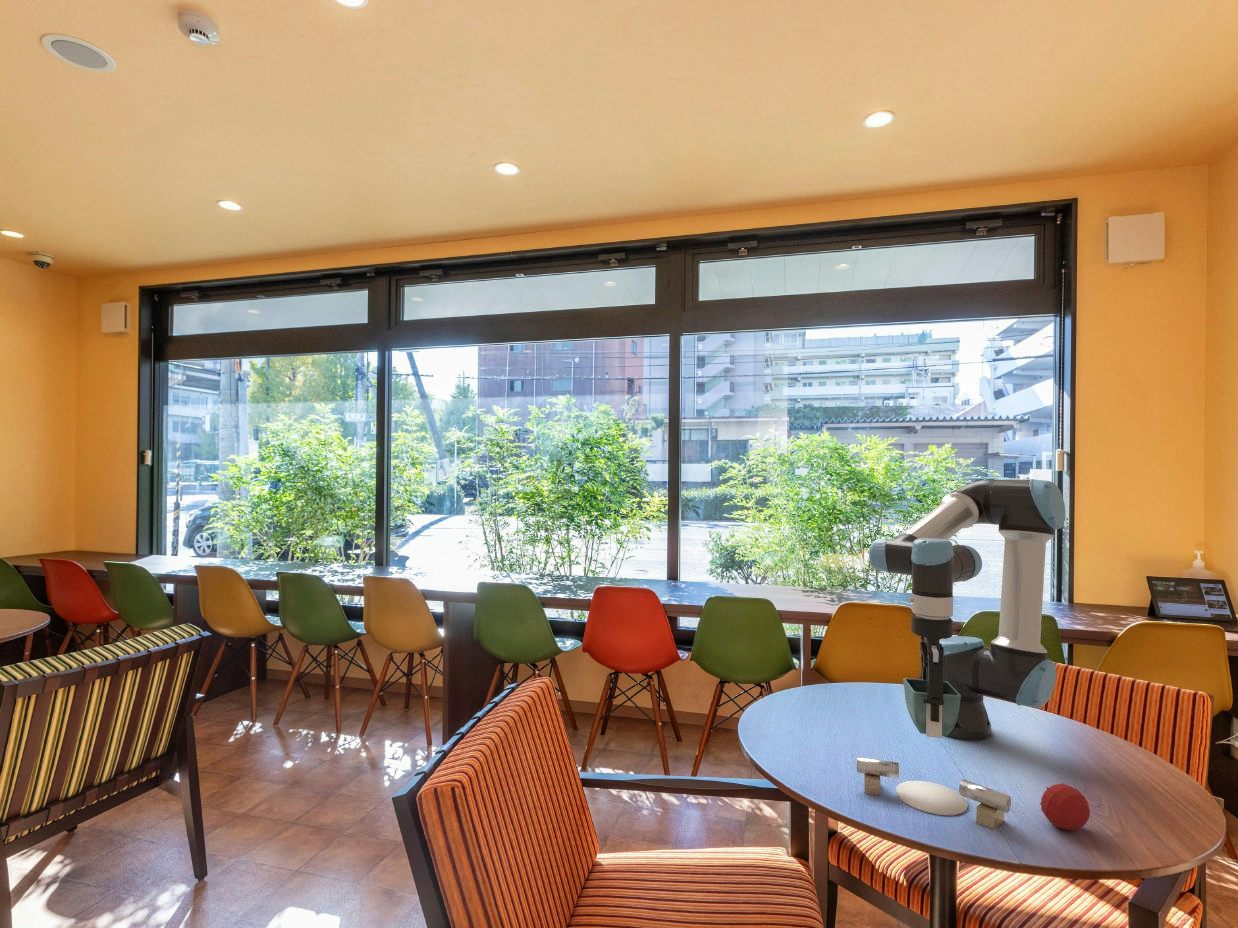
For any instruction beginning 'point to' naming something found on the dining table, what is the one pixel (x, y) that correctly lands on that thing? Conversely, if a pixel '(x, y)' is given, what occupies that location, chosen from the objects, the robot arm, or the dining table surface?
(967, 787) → the shaft
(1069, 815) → the tomato
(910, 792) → the seat pad
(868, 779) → the shaft
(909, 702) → the flower pot
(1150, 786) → the dining table surface
